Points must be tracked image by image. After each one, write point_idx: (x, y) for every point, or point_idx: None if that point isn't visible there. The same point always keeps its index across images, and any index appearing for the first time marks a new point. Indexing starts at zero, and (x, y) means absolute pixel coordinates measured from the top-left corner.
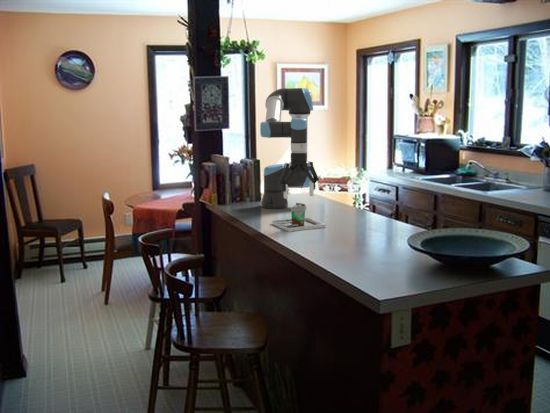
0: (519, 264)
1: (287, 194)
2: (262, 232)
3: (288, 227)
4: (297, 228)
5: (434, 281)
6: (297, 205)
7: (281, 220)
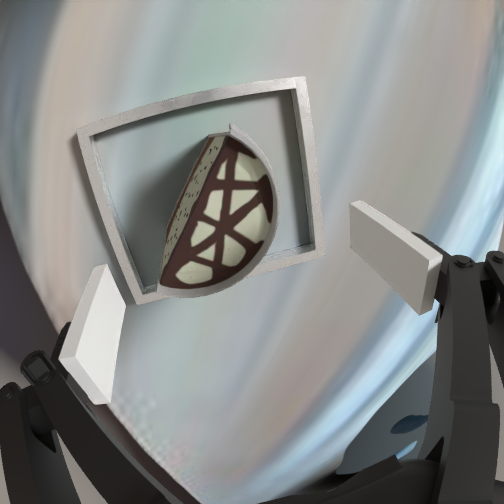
0: (407, 447)
1: (119, 330)
2: (42, 293)
3: (140, 293)
4: None
5: None
6: (227, 174)
7: (130, 121)
